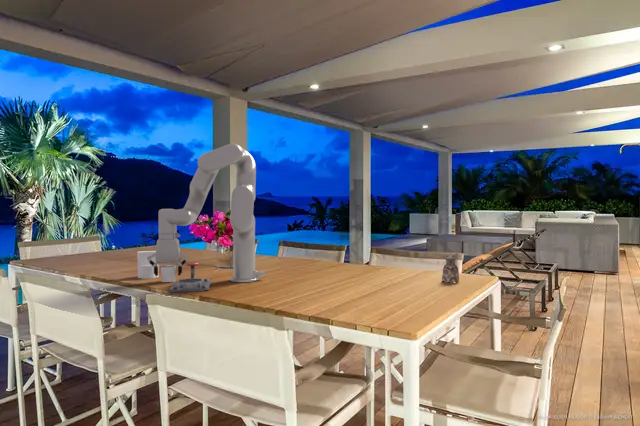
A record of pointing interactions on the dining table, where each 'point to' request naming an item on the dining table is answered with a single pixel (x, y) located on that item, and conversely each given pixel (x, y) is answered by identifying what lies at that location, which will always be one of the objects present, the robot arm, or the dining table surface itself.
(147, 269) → the base with upright slab
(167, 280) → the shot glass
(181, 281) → the valve body
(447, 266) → the figurine
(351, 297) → the dining table surface
